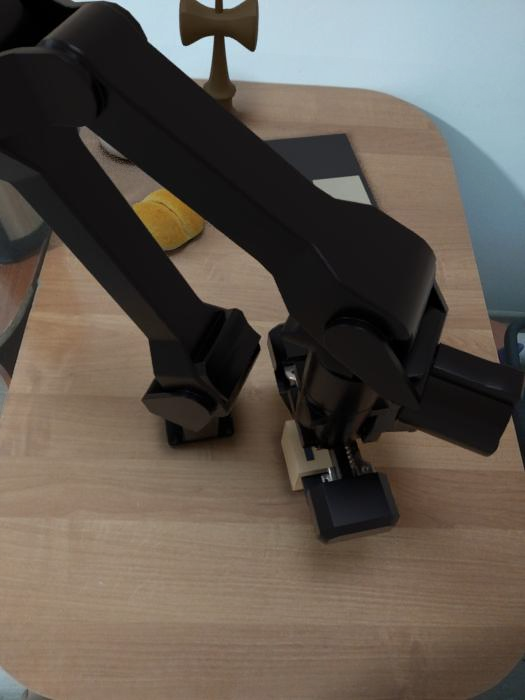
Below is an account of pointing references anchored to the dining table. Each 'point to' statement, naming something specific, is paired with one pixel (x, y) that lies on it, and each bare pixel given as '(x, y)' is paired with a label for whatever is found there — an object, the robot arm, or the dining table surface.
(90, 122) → the robot arm
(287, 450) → the letter H
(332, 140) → the word mat
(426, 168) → the dining table surface
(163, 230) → the bread roll
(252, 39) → the kendama
